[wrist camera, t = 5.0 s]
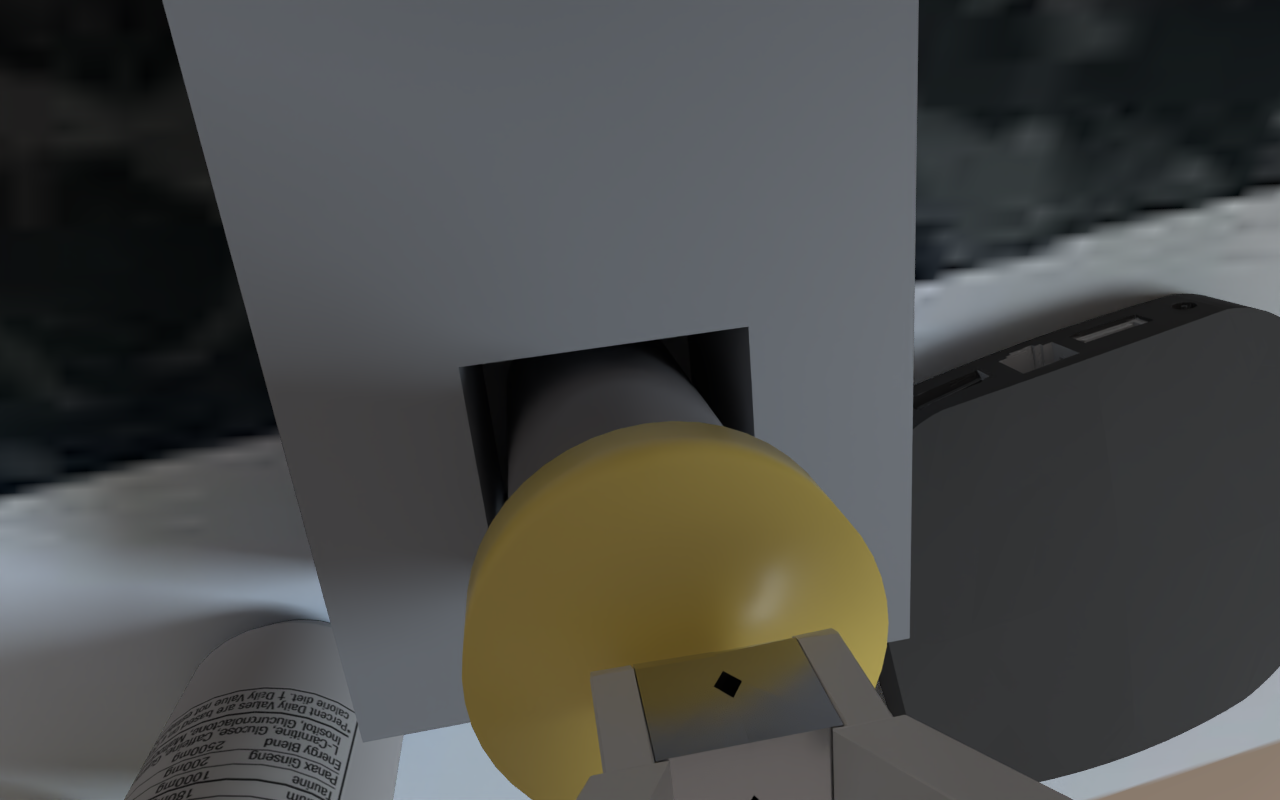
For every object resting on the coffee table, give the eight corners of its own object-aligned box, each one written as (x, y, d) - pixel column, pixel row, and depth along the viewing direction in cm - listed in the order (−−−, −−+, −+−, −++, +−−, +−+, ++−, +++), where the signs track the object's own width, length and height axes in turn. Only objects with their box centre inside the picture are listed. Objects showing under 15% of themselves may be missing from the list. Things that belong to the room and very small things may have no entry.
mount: (768, -420, 17) (928, -745, 11) (802, 501, 25) (909, 638, 18) (179, -402, 16) (-45, -763, 9) (401, 569, 23) (362, 742, 17)
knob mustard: (689, 269, 21) (889, 428, 10) (704, 470, 22) (888, 786, 12) (465, 298, 20) (421, 502, 9) (501, 503, 22) (500, 869, 11)
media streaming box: (895, 769, 29) (937, 837, 27) (807, 412, 24) (846, 450, 22) (1263, 631, 30) (1341, 684, 27) (1252, 255, 25) (1347, 272, 22)
